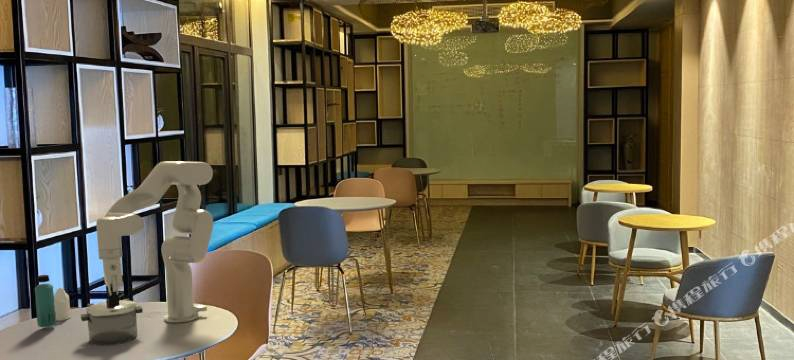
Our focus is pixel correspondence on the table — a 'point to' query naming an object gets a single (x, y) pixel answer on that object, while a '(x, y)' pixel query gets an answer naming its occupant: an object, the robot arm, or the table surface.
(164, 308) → the table surface
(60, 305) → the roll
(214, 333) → the table surface
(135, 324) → the cooker pot
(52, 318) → the beverage bottle
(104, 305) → the cooker lid
